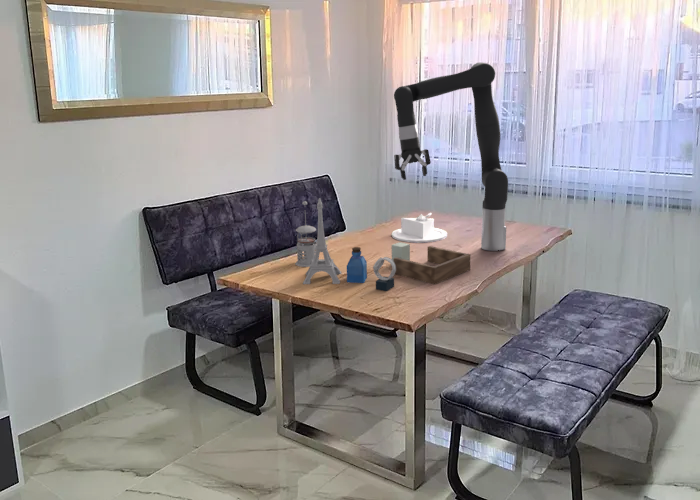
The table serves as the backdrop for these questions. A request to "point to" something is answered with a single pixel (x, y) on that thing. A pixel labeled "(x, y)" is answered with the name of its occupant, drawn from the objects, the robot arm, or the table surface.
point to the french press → (305, 245)
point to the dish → (419, 230)
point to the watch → (384, 282)
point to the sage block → (401, 251)
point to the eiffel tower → (327, 262)
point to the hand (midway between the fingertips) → (414, 177)
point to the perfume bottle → (356, 267)
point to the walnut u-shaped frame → (447, 268)
